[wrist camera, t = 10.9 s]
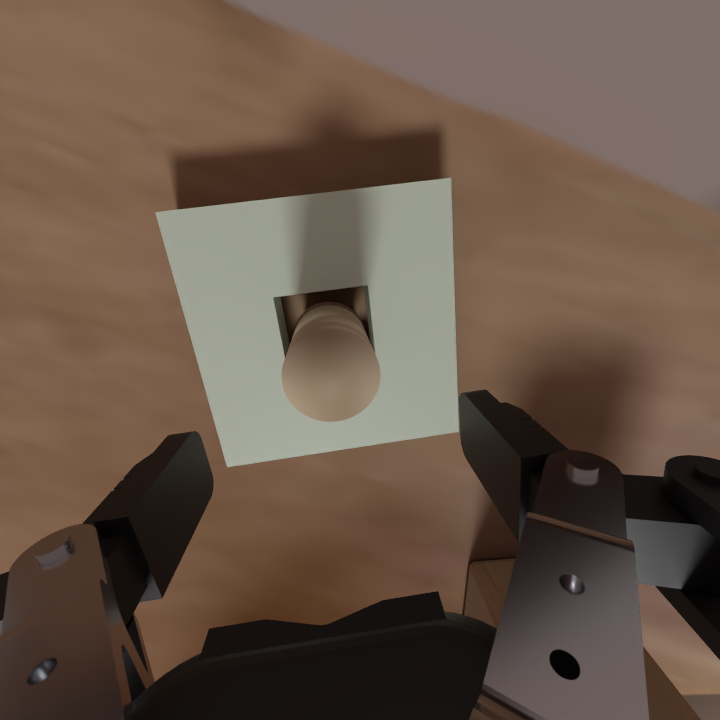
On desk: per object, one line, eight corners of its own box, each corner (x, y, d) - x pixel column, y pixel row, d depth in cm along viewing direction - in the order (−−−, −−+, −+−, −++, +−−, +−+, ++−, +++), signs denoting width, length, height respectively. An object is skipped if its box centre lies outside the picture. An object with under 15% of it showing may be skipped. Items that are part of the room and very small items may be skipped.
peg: (356, 290, 24) (376, 321, 14) (363, 350, 25) (386, 415, 16) (293, 299, 24) (271, 335, 14) (303, 359, 25) (290, 429, 16)
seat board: (434, 186, 22) (450, 177, 19) (444, 412, 27) (458, 431, 25) (177, 216, 21) (155, 212, 19) (237, 443, 27) (227, 467, 24)
